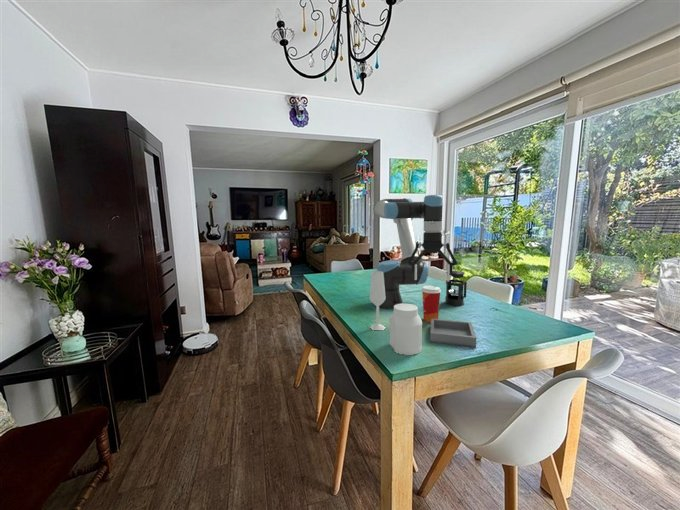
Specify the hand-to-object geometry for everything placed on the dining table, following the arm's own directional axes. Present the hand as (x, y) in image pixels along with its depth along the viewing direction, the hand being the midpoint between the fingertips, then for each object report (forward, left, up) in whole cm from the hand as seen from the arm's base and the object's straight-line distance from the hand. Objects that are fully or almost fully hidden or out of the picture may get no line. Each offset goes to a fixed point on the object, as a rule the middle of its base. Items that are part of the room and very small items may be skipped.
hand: (431, 280), depth 121 cm
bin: (+8, -15, -19) cm, 25 cm away
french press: (+12, +29, -19) cm, 37 cm away
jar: (-8, -29, -19) cm, 36 cm away
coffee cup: (0, 0, -19) cm, 19 cm away
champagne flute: (-21, -15, -19) cm, 32 cm away
